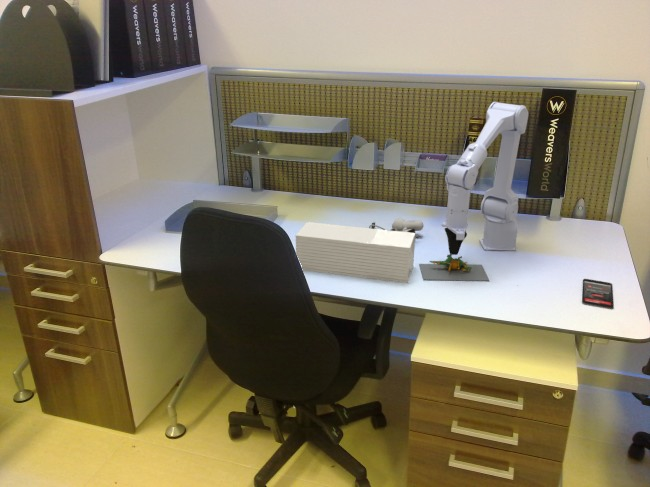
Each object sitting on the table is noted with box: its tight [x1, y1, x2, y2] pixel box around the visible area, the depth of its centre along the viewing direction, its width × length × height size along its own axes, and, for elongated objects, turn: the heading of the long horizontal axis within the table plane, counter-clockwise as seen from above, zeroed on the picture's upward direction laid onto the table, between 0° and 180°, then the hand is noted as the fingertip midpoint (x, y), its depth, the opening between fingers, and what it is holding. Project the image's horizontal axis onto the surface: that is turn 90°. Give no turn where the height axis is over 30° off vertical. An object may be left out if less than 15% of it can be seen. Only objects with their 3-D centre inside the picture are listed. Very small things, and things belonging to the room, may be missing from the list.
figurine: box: [429, 254, 472, 272], centre depth 163 cm, size 3×12×8 cm
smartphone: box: [581, 278, 615, 310], centre depth 150 cm, size 7×1×15 cm
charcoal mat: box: [419, 263, 491, 282], centre depth 162 cm, size 18×10×1 cm, turn 88°
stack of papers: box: [295, 221, 416, 284], centre depth 163 cm, size 32×11×11 cm, turn 74°
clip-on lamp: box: [369, 217, 424, 237], centre depth 186 cm, size 12×6×18 cm
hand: (453, 253), depth 162 cm, fingers closed
